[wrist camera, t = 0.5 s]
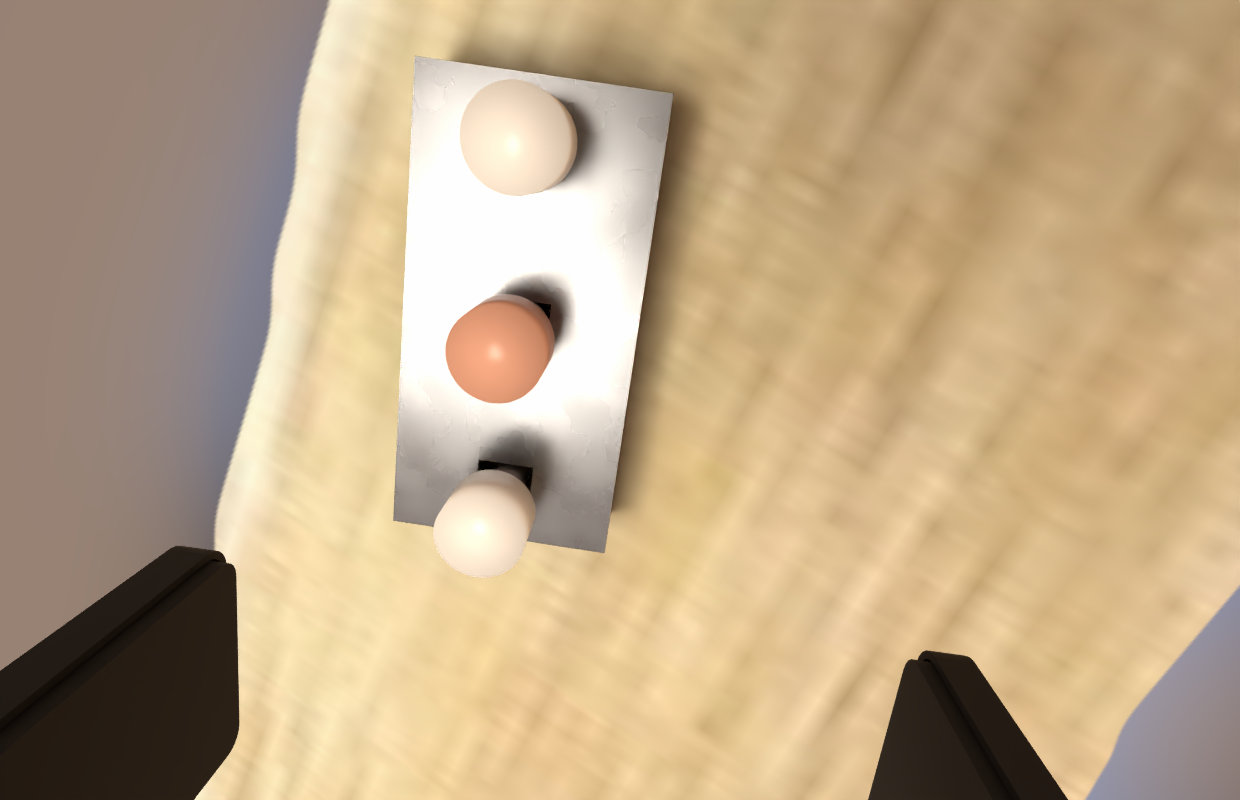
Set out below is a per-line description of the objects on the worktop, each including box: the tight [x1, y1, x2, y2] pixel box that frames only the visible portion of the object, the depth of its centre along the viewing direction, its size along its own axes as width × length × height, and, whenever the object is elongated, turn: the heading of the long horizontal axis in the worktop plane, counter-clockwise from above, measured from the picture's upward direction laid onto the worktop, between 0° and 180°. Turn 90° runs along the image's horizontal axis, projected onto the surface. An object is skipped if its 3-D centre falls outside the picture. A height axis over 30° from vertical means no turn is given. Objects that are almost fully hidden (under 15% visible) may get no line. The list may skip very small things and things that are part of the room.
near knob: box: [459, 79, 577, 196], centre depth 33 cm, size 4×4×8 cm
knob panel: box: [393, 56, 674, 553], centre depth 39 cm, size 24×12×5 cm, turn 172°
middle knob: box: [445, 294, 555, 404], centre depth 36 cm, size 4×4×8 cm
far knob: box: [433, 462, 535, 578], centre depth 38 cm, size 4×4×8 cm
